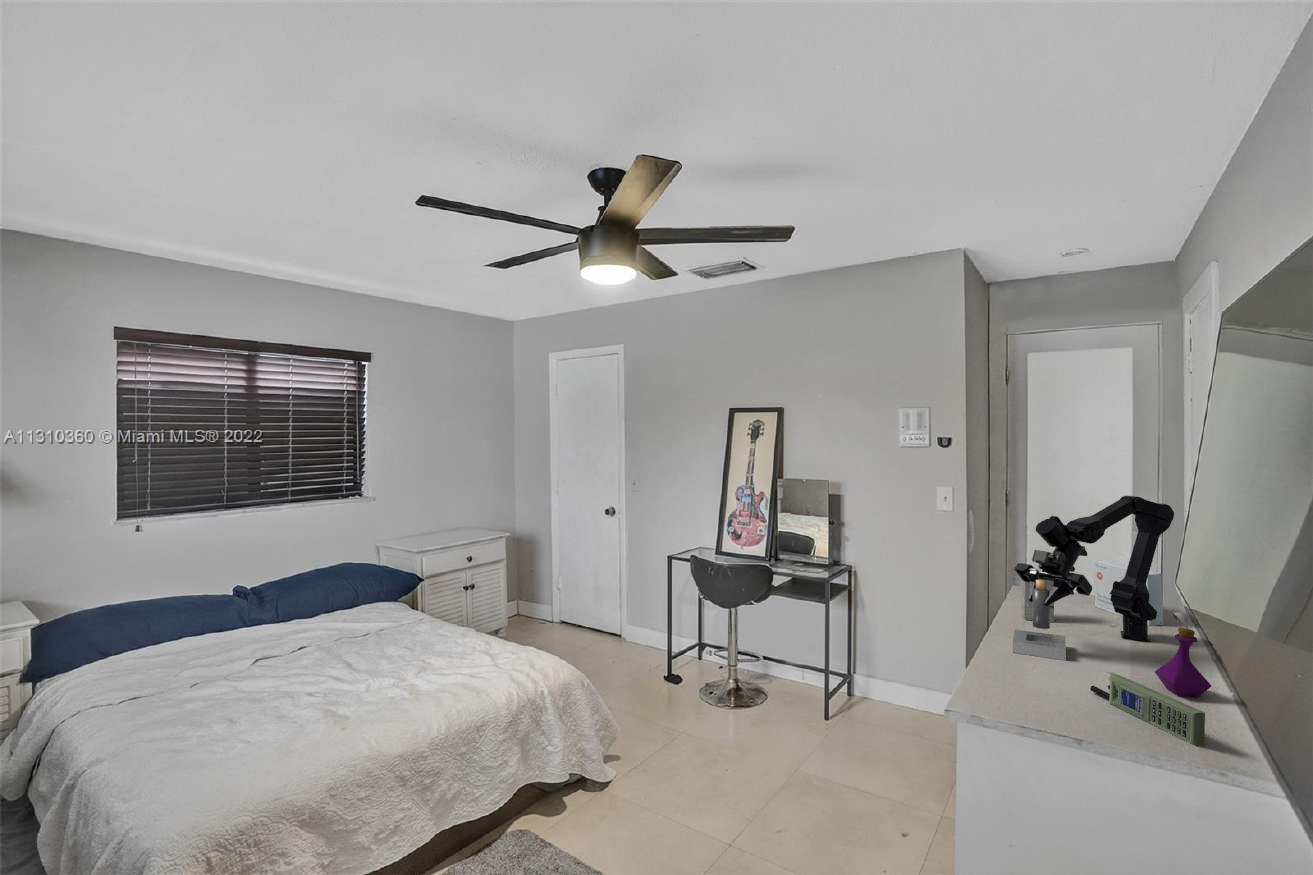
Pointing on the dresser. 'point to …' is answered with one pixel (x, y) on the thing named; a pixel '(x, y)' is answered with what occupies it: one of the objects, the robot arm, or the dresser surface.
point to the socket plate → (1039, 644)
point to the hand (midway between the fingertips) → (1037, 603)
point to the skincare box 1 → (1027, 605)
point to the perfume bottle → (1183, 666)
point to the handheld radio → (1155, 708)
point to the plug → (1040, 606)
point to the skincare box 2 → (1115, 571)
